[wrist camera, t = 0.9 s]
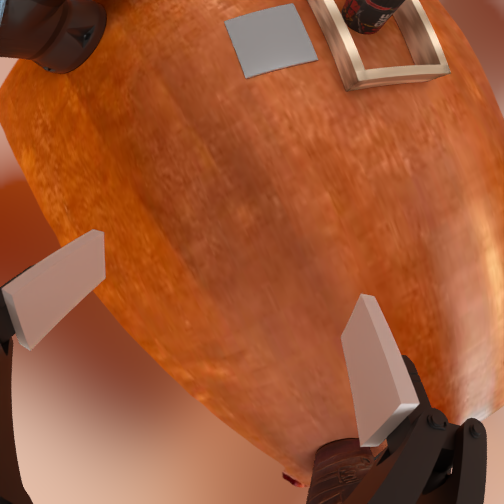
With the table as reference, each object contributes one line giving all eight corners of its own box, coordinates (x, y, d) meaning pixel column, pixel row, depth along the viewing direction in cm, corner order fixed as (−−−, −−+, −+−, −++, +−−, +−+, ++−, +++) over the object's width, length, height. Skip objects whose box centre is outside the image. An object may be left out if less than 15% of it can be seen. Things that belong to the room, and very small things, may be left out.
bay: (305, -3, 26) (308, -27, 19) (386, -9, 23) (401, -28, 16) (346, 91, 31) (358, 81, 24) (427, 81, 28) (450, 73, 22)
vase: (393, 442, 59) (407, 526, 31) (334, 468, 66) (335, 544, 39) (355, 422, 55) (365, 529, 27) (288, 451, 63) (281, 543, 35)
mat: (224, 23, 29) (223, 21, 28) (292, 5, 26) (292, 3, 26) (246, 79, 32) (245, 78, 31) (317, 60, 30) (318, 59, 29)
